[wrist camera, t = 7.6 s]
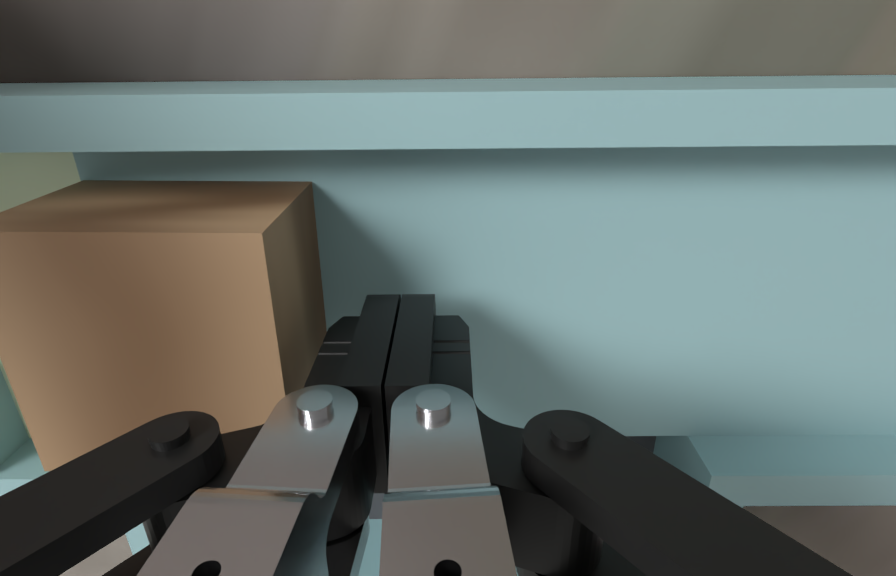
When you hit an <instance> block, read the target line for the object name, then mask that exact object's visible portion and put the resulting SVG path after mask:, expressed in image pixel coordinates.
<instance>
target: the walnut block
mask: <svg viewBox="0 0 896 576" xmlns="http://www.w3.org/2000/svg"><path fill="white" fill-rule="evenodd" d="M326 333H327V328H326V318H325V308H324V298H323V288H322V278H321V268H320V258H319V248H318V238H317V228H316V218H315V208H314V198H313V188H312V182H309V181H133V180H83V181H80V182H78V183H75V184H72V185H70V186H67V187H65V188H62V189H59V190H57V191H54V192H52V193H49V194H46V195H44V196H41V197H39V198H36V199H33V200H31V201H28V202H26V203H23V204H20V205H18V206H15V207H13V208H10V209H7V210H5V211H2V212H0V359H1V362H2V364H3V367H4V369H5V372H6V374H7V377H8V379H9V382H10V385H11V387H12V390H13V392H14V395H15V397H16V400H17V402H18V405H19V407H20V410H21V413H22V415H23V418H24V420H25V423H26V425H27V428H28V430H29V433H30V435H31V438H32V441H33V443H34V446H35V448H36V451H37V453H38V456H39V458H40V461H41V463H42V466H43V469H44V471H52V470H54V469H56V468H58V467H60V466H62V465H64V464H66V463H68V462H69V461H71V460H73V459H75V458H77V457H79V456H81V455H83V454H85V453H87V452H89V451H91V450H93V449H95V448H97V447H99V446H101V445H103V444H105V443H107V442H109V441H111V440H113V439H115V438H117V437H119V436H121V435H123V434H125V433H127V432H129V431H131V430H133V429H135V428H137V427H139V426H141V425H143V424H145V423H147V422H149V421H151V420H154V419H156V418H158V417H161V416H164V415H167V414H171V413H175V412H181V411H199V412H204V413H207V414H210V415H211V416H213V417H214V418H215V419H216V420H217V422H218V423H219V427H220V432H221V434H223V433H228V432H233V431H237V430H242V429H246V428H251V427H255V426H259V425H262V424H265V422H266V420H267V419H268V417H269V415H270V414H271V412H272V410H273V409H274V407H275V406H276V404H277V403H278V402H279V401H280V400H281V399H282V398H284V397H285V396H286V395H288V394H290V393H292V392H294V391H296V390H298V389H301V388H303V387H304V385H305V383H306V380H307V378H308V376H309V373H310V371H311V368H312V366H313V364H314V361H315V359H316V357H317V355H318V352H319V350H320V347H321V345H322V344H323V340H324V338H325V335H326Z"/></svg>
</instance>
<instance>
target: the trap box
mask: <svg viewBox="0 0 896 576" xmlns="http://www.w3.org/2000/svg"><path fill="white" fill-rule="evenodd" d="M83 180H133V181H309V182H312V188H313V198H314V208H315V218H316V228H317V238H318V248H319V258H320V268H321V278H322V288H323V298H324V308H325V318H326V328H327V331H328V328H329V327H331V326H332V325H333V324H334V323H335V322H337V321H338V320H339V319H340V318H342V317H343V316H360V314H361V311H362V308H363V305H364V302H365V299H366V296H367V295H382V294H400V295H401V298H402V294H435V301H436V315H459V316H460V317H461V318H462V320H463V321H464V322H465V323H466V324H467V325H468V326H469V335H470V353H471V368H472V384H473V397H474V401H475V404H476V405H477V407H478V408H479V409H480V410H481V411H482V412H483V413H484V414H485V415H486V416H488V417H489V418H491V419H493V420H495V421H497V422H500V423H503V424H506V425H510V426H514V427H519V428H523V429H524V427H525V425H526V424H527V422H528V421H529V420H530V419H531V418H533V417H534V416H536V415H538V414H540V413H543V412H546V411H551V410H572V411H578V412H581V413H585V414H587V415H590V416H592V417H594V418H596V419H598V420H600V421H601V422H603V423H604V424H606V425H608V426H609V427H611V428H613V429H614V430H616V431H618V432H619V433H621V434H622V435H624V436H626V437H627V438H629V439H631V440H632V441H634V442H635V443H637V444H639V445H640V446H642V447H644V448H645V449H647V450H648V451H650V452H652V453H653V454H655V455H657V456H658V457H660V458H662V459H663V460H665V461H666V462H668V463H670V464H671V465H673V466H675V467H676V468H678V469H679V470H681V471H683V472H684V473H686V474H688V475H689V476H691V477H692V478H694V479H696V480H697V481H699V482H701V483H702V484H704V485H706V486H707V487H709V488H710V489H712V490H714V491H715V492H717V493H719V494H720V495H722V496H723V497H725V498H727V499H728V500H730V501H732V502H733V503H735V504H736V505H738V506H740V507H741V508H743V507H744V506H880V505H896V75H833V76H726V77H620V78H514V79H407V80H301V81H195V82H88V83H0V212H2V211H5V210H7V209H10V208H13V207H15V206H18V205H20V204H23V203H26V202H28V201H31V200H33V199H36V198H39V197H41V196H44V195H46V194H49V193H52V192H54V191H57V190H59V189H62V188H65V187H67V186H70V185H72V184H75V183H78V182H80V181H83ZM48 472H50V471H44V469H43V466H42V463H41V461H40V458H39V456H38V453H37V451H36V448H35V446H34V443H33V441H32V438H31V435H30V433H29V430H28V428H27V425H26V423H25V420H24V418H23V415H22V413H21V410H20V407H19V405H18V402H17V400H16V397H15V395H14V392H13V390H12V387H11V385H10V382H9V379H8V377H7V374H6V372H5V369H4V367H3V364H2V362H1V359H0V496H2V495H4V494H6V493H8V492H10V491H12V490H14V489H16V488H18V487H20V486H22V485H24V484H26V483H28V482H30V481H32V480H34V479H36V478H38V477H40V476H42V475H44V474H46V473H48ZM383 497H384V493H374V495H373V500H372V506H371V510H370V514H369V521H370V531H369V536H368V540H367V544H366V548H365V552H364V555H363V559H362V563H361V567H360V571H359V575H358V576H379V569H380V549H381V530H382V510H383ZM125 534H126V537H127V540H128V542H129V545H130V548H131V551H132V554H133V555H134V554H136V553H137V552H139V551H140V550H142V549H143V548H145V547H146V546H148V545H149V541H148V538H147V535H146V532H145V529H144V526H143V523H141V524H140V525H138V526H137V527H135V528H133V529H132V530H130V531H129V532H127V533H125ZM515 568H516V566H515ZM516 573H517V569H516ZM517 576H518V573H517Z"/></svg>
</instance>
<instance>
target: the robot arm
mask: <svg viewBox="0 0 896 576" xmlns="http://www.w3.org/2000/svg"><path fill="white" fill-rule="evenodd" d="M374 493H384V497H383V510H382V530H381V549H380V569H379V576H517V573H518V576H852V575H851V574H849V573H847V572H846V571H844V570H842V569H841V568H839V567H838V566H836V565H834V564H833V563H831V562H829V561H828V560H826V559H825V558H823V557H821V556H820V555H818V554H816V553H815V552H813V551H811V550H810V549H808V548H807V547H805V546H803V545H802V544H800V543H798V542H797V541H795V540H794V539H792V538H790V537H789V536H787V535H785V534H784V533H782V532H781V531H779V530H777V529H776V528H774V527H772V526H771V525H769V524H767V523H766V522H764V521H763V520H761V519H759V518H758V517H756V516H754V515H753V514H751V513H750V512H748V511H746V510H745V509H743V508H741V507H740V506H738V505H736V504H735V503H733V502H732V501H730V500H728V499H727V498H725V497H723V496H722V495H720V494H719V493H717V492H715V491H714V490H712V489H710V488H709V487H707V486H706V485H704V484H702V483H701V482H699V481H697V480H696V479H694V478H692V477H691V476H689V475H688V474H686V473H684V472H683V471H681V470H679V469H678V468H676V467H675V466H673V465H671V464H670V463H668V462H666V461H665V460H663V459H662V458H660V457H658V456H657V455H655V454H653V453H652V452H650V451H648V450H647V449H645V448H644V447H642V446H640V445H639V444H637V443H635V442H634V441H632V440H631V439H629V438H627V437H626V436H624V435H622V434H621V433H619V432H618V431H616V430H614V429H613V428H611V427H609V426H608V425H606V424H604V423H603V422H601V421H600V420H598V419H596V418H594V417H592V416H590V415H587V414H585V413H581V412H578V411H572V410H551V411H546V412H543V413H540V414H538V415H536V416H534V417H533V418H531V419H530V420H529V421H528V422H527V424H526V425H525V427H524V429H523V428H519V427H514V426H510V425H506V424H503V423H500V422H497V421H495V420H493V419H491V418H489V417H488V416H486V415H485V414H484V413H483V412H482V411H481V410H480V409H479V408H478V407H477V405H476V404H475V401H474V397H473V384H472V368H471V353H470V335H469V326H468V325H467V324H466V323H465V322H464V321H463V320H462V318H461V317H460V316H459V315H436V301H435V294H402V298H401V295H400V294H382V295H367V296H366V299H365V302H364V305H363V308H362V311H361V314H360V316H343V317H342V318H340V319H339V320H338V321H337V322H335V323H334V324H333V325H332V326H331V327H329V328H328V331H327V333H326V335H325V338H324V340H323V344H322V345H321V347H320V350H319V352H318V355H317V357H316V359H315V361H314V364H313V366H312V368H311V371H310V373H309V376H308V378H307V380H306V383H305V385H304V387H303V388H301V389H298V390H296V391H294V392H292V393H290V394H288V395H286V396H285V397H284V398H282V399H281V400H280V401H279V402H278V403H277V404H276V406H275V407H274V409H273V410H272V412H271V414H270V415H269V417H268V419H267V420H266V422H265V424H262V425H259V426H255V427H251V428H246V429H242V430H237V431H233V432H228V433H223V434H221V432H220V427H219V423H218V422H217V420H216V419H215V418H214V417H213V416H211V415H210V414H207V413H204V412H199V411H181V412H175V413H171V414H167V415H164V416H161V417H158V418H156V419H154V420H151V421H149V422H147V423H145V424H143V425H141V426H139V427H137V428H135V429H133V430H131V431H129V432H127V433H125V434H123V435H121V436H119V437H117V438H115V439H113V440H111V441H109V442H107V443H105V444H103V445H101V446H99V447H97V448H95V449H93V450H91V451H89V452H87V453H85V454H83V455H81V456H79V457H77V458H75V459H73V460H71V461H69V462H68V463H66V464H64V465H62V466H60V467H58V468H56V469H54V470H52V471H50V472H48V473H46V474H44V475H42V476H40V477H38V478H36V479H34V480H32V481H30V482H28V483H26V484H24V485H22V486H20V487H18V488H16V489H14V490H12V491H10V492H8V493H6V494H4V495H2V496H0V576H59V575H60V574H62V573H63V572H65V571H66V570H68V569H70V568H71V567H73V566H74V565H76V564H78V563H79V562H81V561H82V560H84V559H86V558H87V557H89V556H90V555H92V554H94V553H95V552H97V551H98V550H100V549H102V548H103V547H105V546H106V545H108V544H109V543H111V542H113V541H114V540H116V539H117V538H119V537H121V536H122V535H124V534H125V533H127V532H129V531H130V530H132V529H133V528H135V527H137V526H138V525H140V524H141V523H143V526H144V529H145V532H146V535H147V538H148V541H149V545H148V546H146V547H145V548H143V549H142V550H140V551H139V552H137V553H136V554H134V555H133V556H131V557H130V558H128V559H127V560H125V561H123V562H122V563H120V564H119V565H117V566H116V567H114V568H113V569H111V570H110V571H108V572H107V573H105V574H104V575H102V576H358V575H359V571H360V567H361V563H362V559H363V555H364V552H365V548H366V544H367V540H368V536H369V531H370V521H369V514H370V510H371V506H372V500H373V495H374ZM515 566H516V568H515ZM516 569H517V573H516Z"/></svg>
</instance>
